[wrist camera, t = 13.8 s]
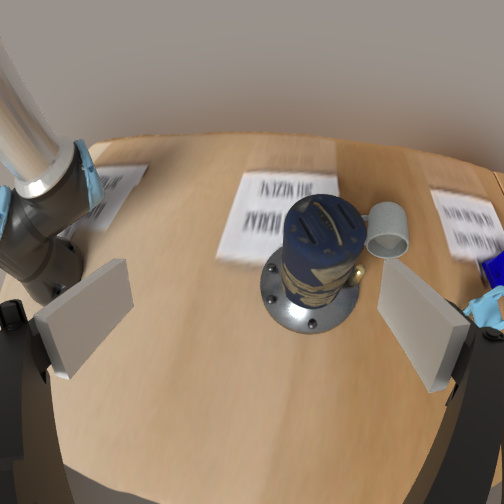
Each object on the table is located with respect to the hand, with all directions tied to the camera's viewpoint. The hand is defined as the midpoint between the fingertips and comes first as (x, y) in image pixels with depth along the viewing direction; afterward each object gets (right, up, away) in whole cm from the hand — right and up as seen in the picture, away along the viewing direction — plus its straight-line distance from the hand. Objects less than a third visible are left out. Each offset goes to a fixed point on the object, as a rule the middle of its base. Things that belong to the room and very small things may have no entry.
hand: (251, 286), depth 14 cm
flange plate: (+9, -4, +33) cm, 35 cm away
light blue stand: (+39, -12, +27) cm, 49 cm away
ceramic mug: (+23, +4, +37) cm, 43 cm away
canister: (+9, -3, +32) cm, 33 cm away
